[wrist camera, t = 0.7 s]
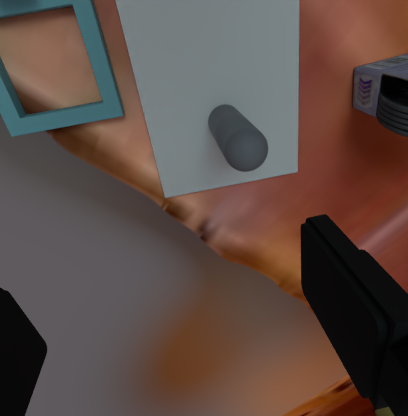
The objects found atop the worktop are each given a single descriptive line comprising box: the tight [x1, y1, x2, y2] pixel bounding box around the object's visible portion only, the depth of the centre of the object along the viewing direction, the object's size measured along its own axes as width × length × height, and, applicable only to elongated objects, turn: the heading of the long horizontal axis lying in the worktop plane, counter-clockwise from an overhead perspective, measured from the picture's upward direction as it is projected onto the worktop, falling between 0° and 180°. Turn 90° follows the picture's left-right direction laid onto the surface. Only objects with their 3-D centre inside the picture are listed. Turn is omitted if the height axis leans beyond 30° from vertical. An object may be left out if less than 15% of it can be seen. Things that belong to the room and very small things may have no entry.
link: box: [0, 0, 125, 137], centre depth 25 cm, size 16×11×5 cm
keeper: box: [115, 0, 299, 198], centre depth 26 cm, size 22×16×12 cm
